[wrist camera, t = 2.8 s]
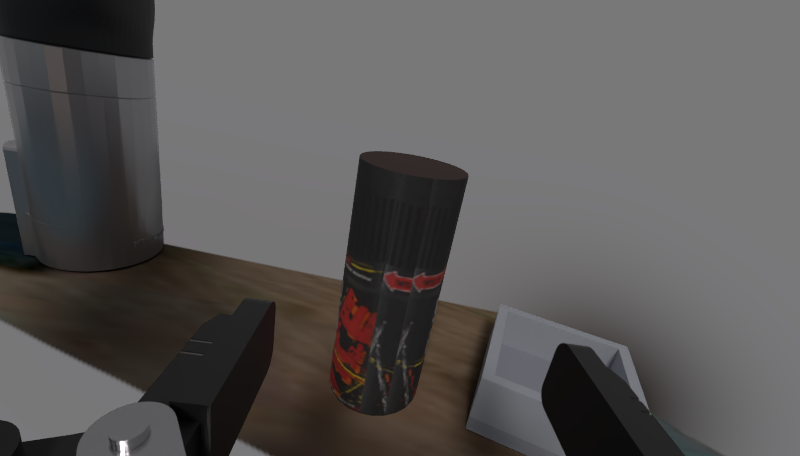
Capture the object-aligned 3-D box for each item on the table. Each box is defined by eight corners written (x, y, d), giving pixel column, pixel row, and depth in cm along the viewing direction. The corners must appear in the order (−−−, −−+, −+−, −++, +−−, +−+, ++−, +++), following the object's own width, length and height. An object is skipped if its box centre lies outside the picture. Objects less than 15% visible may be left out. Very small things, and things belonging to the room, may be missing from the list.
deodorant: (428, 410, 24) (488, 184, 18) (335, 421, 22) (373, 172, 16) (402, 347, 29) (443, 158, 24) (325, 352, 27) (351, 146, 22)
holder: (465, 428, 23) (481, 377, 21) (487, 344, 31) (500, 303, 30) (632, 502, 20) (663, 450, 19) (607, 388, 28) (627, 347, 27)
